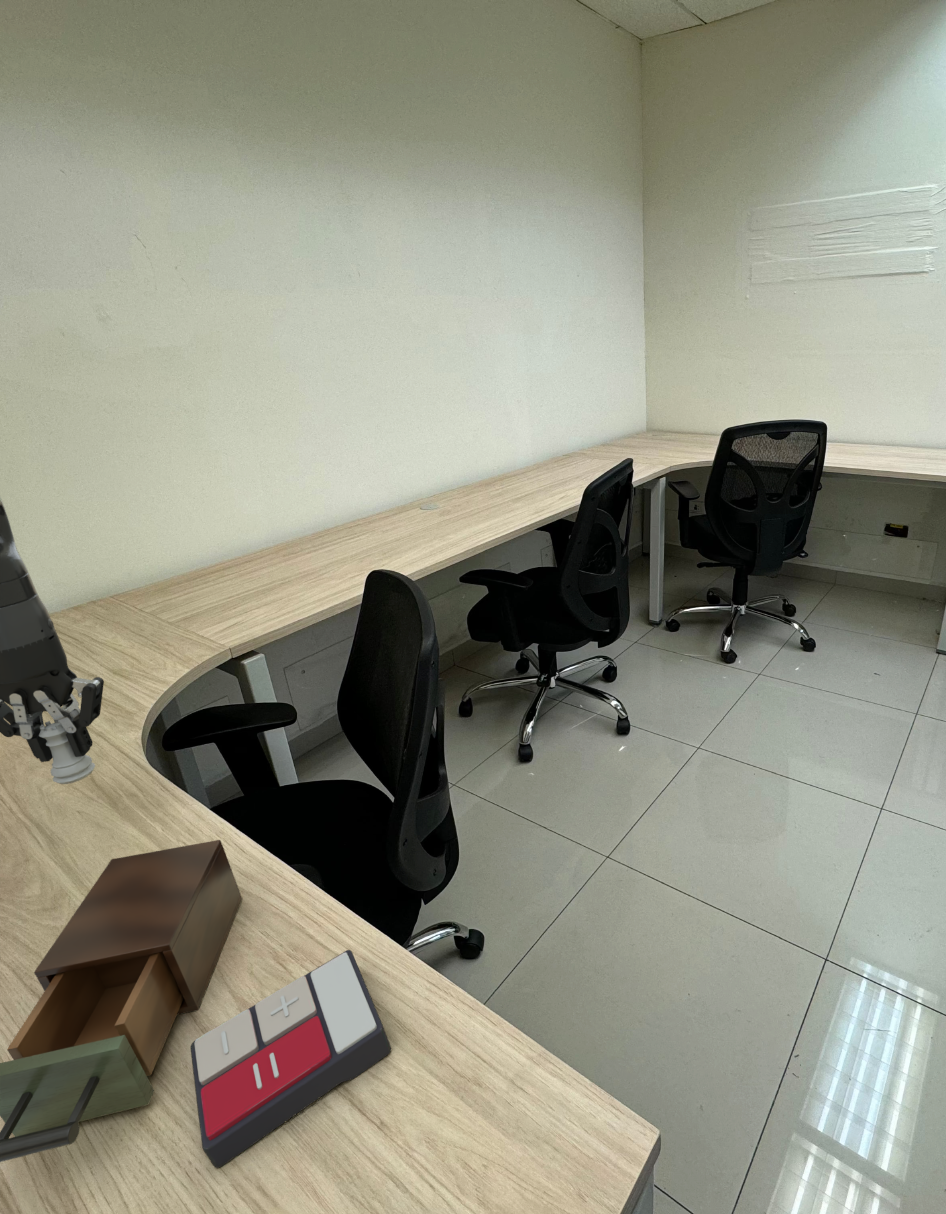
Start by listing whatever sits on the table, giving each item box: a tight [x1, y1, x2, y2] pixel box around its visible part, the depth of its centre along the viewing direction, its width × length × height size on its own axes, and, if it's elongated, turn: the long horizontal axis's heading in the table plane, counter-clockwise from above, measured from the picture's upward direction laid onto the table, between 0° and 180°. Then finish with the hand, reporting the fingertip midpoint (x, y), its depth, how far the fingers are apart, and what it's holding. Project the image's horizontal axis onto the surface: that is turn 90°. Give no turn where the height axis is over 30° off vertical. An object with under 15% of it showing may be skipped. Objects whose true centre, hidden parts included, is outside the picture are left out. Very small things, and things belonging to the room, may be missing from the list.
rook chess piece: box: [39, 719, 96, 785], centre depth 81 cm, size 4×4×8 cm
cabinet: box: [33, 839, 243, 1016], centre depth 68 cm, size 15×12×10 cm
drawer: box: [0, 952, 184, 1163], centre depth 57 cm, size 18×10×8 cm, turn 13°
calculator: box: [190, 949, 392, 1169], centre depth 59 cm, size 11×4×15 cm
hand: (66, 755), depth 81 cm, fingers closed on rook chess piece, 3 cm apart
